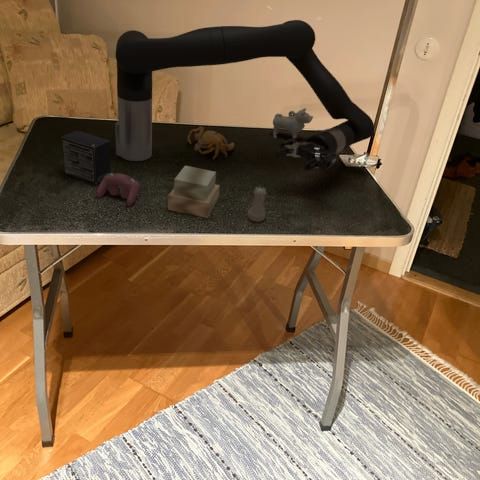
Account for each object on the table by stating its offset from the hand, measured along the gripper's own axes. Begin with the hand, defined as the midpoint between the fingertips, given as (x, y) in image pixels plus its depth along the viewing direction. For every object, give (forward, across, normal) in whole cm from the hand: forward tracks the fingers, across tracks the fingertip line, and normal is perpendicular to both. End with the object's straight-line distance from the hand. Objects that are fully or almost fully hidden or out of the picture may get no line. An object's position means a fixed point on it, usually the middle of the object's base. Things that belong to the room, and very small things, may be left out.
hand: (291, 161), depth 122 cm
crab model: (-9, -34, +12) cm, 38 cm away
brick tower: (+19, -15, +12) cm, 26 cm away
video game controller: (+31, -29, +12) cm, 44 cm away
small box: (+30, -43, +11) cm, 53 cm away
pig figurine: (-38, -25, +12) cm, 47 cm away
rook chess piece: (+12, 0, +12) cm, 17 cm away
